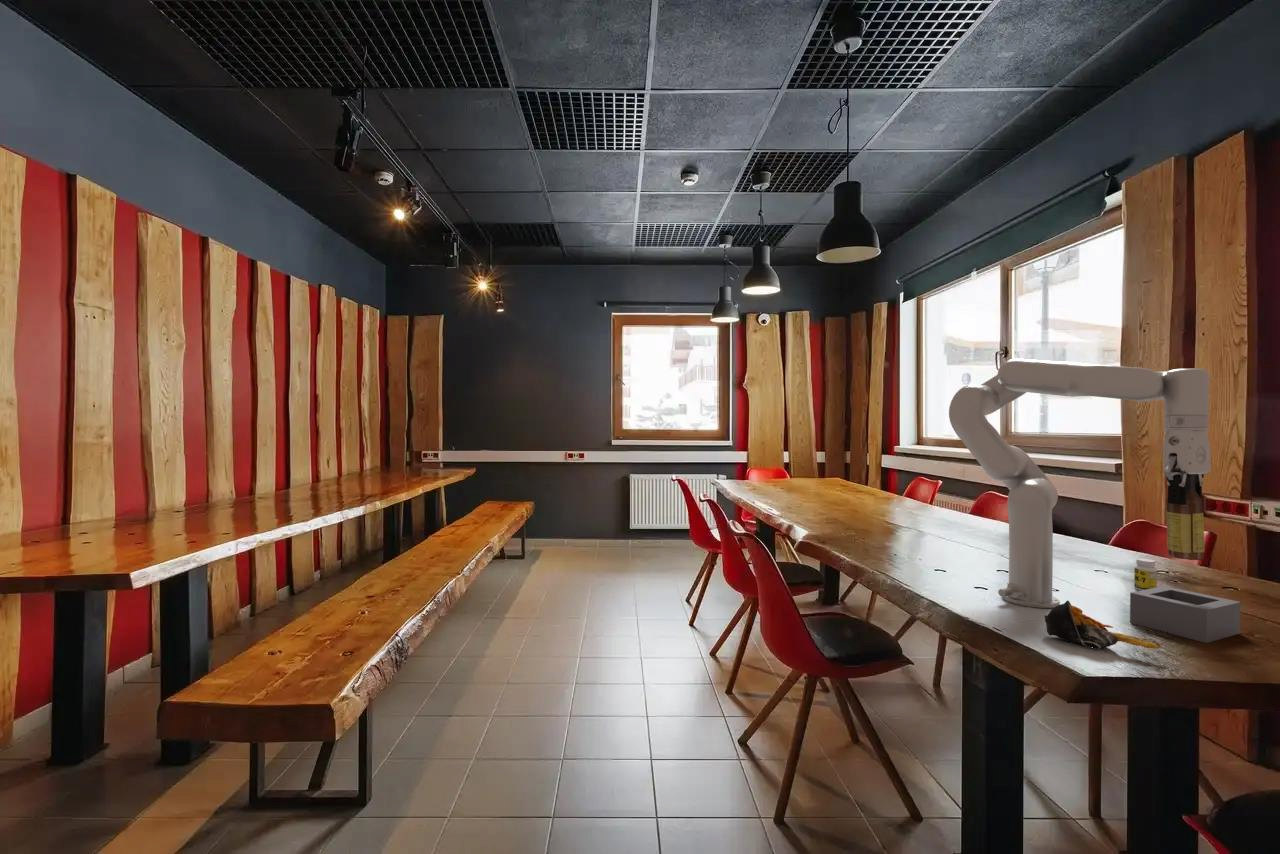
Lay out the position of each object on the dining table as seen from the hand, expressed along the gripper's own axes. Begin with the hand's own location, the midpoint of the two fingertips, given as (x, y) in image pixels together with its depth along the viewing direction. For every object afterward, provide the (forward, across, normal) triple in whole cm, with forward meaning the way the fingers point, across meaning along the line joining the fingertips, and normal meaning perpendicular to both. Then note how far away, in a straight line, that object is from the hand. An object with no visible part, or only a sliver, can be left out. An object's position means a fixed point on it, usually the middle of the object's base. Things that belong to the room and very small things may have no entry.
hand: (1184, 502), depth 135 cm
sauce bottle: (+13, 0, 0) cm, 13 cm away
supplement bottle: (+29, +28, +21) cm, 45 cm away
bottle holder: (+28, 0, 0) cm, 28 cm away
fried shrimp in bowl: (+29, -31, +1) cm, 42 cm away
